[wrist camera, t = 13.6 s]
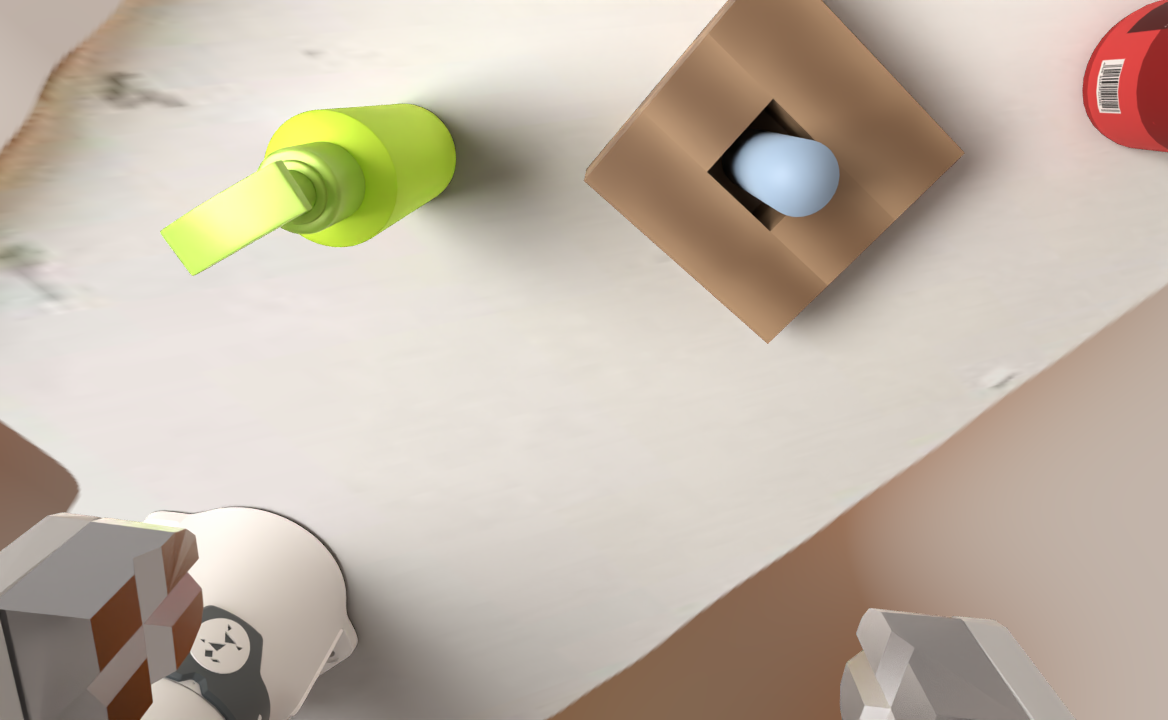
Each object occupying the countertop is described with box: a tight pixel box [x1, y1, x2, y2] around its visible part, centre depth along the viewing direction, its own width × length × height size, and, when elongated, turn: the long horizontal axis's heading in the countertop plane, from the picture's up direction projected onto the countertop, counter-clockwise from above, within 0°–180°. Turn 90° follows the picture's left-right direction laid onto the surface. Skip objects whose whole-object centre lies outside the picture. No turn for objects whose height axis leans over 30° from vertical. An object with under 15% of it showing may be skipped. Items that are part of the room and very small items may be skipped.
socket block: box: [584, 0, 964, 344], centre depth 39 cm, size 14×14×6 cm
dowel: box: [722, 129, 840, 217], centre depth 36 cm, size 3×3×11 cm
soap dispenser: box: [160, 104, 456, 276], centre depth 33 cm, size 6×7×20 cm
